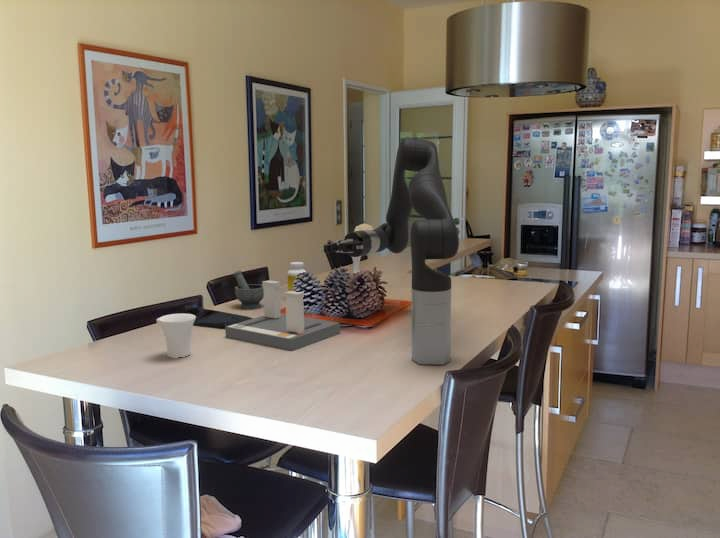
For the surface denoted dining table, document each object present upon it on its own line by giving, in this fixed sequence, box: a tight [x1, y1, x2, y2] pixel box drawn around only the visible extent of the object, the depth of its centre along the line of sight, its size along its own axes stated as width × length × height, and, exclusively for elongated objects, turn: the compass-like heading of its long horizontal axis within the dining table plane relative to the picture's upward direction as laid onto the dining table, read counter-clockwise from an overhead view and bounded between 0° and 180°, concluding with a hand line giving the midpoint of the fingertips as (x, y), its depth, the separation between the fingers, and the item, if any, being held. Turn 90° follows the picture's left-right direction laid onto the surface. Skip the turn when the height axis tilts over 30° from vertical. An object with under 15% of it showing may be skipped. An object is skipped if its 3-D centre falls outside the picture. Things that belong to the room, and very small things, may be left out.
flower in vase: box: [351, 223, 375, 274], centre depth 233 cm, size 13×11×25 cm
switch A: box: [283, 290, 305, 333], centre depth 163 cm, size 3×5×10 cm, turn 55°
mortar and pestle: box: [233, 270, 264, 310], centre depth 208 cm, size 11×9×12 cm
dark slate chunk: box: [181, 305, 254, 329], centre depth 189 cm, size 15×22×5 cm
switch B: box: [261, 280, 282, 318], centre depth 179 cm, size 3×5×10 cm, turn 55°
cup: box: [156, 313, 196, 358], centre depth 154 cm, size 9×9×10 cm
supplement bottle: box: [287, 261, 307, 292], centre depth 219 cm, size 7×7×13 cm
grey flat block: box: [224, 312, 341, 352], centre depth 172 cm, size 20×24×3 cm
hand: (325, 249), depth 172 cm, fingers closed
